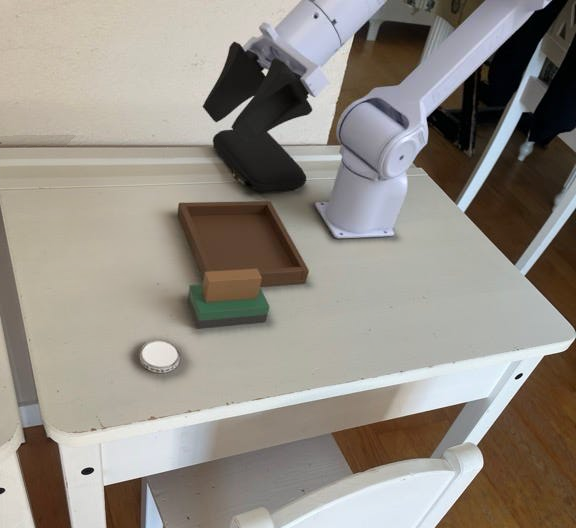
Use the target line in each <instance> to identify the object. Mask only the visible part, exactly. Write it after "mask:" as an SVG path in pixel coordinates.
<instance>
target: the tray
mask: <svg viewBox="0 0 576 528" xmlns="http://www.w3.org/2000/svg"><path fill="white" fill-rule="evenodd" d="M177 219H178V221H179V224H180V226H181V229H182V232H183V234H184V237H185V239H186V241H187V244H188V246H189V249H190V252H191V255H192V256H193V259H194V262H195V264H196V266H197V269H198V272H199V274H200V276H201V279H202V281H204V274H205V272H210V271H226V270H243V269H258V271H259V273H260V275H261V277H262V279H261V284H260V288H263V287H264V288H265V287H275V286H276V287H277V286H289V285H290V286H291V285H302V284H303V285H304V284H306V282H307V278H308V276H309V272H310V270H309V268H308V266H307V264H306V262H305V261H304V259H303V257H302V255H301V254H300V252H299V250H298V248H297V246H296V244H295V243H294V241H293V239H292V237H291V236H290V234H289V232H288V230H287V228H286V227H285V225H284V222H283V221H282V220H281V218H280V216H279V213H277V211H276V209H275V206H274V205H273V203H272V202H271V200H258V201H257V200H255V201H254V200H252V201H250V200H249V201H247V200H246V201H200V202H195V201H194V202H178V208H177Z"/></svg>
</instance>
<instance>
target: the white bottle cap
mask: <svg viewBox="0 0 576 528" xmlns="http://www.w3.org/2000/svg"><path fill="white" fill-rule="evenodd" d="M180 357H181V353H180V351H179V349H178V347H177V346H175V344H174V343H172V342H169V341H167V340H161V339H157V340H156V339H155V340H151V341H148V342H146V343H145V344H144V345H142V347H141V348H140V350H139V362H140V364H141V365H142V366H143V367H144V368H145V369H147V370H148V371H150V372H152V373H157V374H162V373H163V374H164V373H169V372H171V371H173V370H175V369H176V368H177V367H178V366H179V363H180V359H181V358H180Z"/></svg>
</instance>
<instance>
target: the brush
mask: <svg viewBox="0 0 576 528" xmlns="http://www.w3.org/2000/svg"><path fill="white" fill-rule="evenodd" d="M261 279H262V277H261V275H260V273H259V271H258V269H243V270H226V271H210V272H205V274H204V281H203V280H202V281H203V282H202V283H201V284H200V283H199V284H189V285H188V294H187V304H188V306H189V309H190V312H191V314H192V317H193V320H194V322H195V325H196V329H198V330H199V329H209V328H219V327H228V326H239V325H248V324H258V323H259V324H260V323H261V324H262V323H266V322H267V319H268V314H269V311H270V304H269V303H268V300H267V299H266V296H265V294H264V292H263V290H262V287H260V284H261Z"/></svg>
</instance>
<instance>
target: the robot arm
mask: <svg viewBox="0 0 576 528" xmlns="http://www.w3.org/2000/svg"><path fill="white" fill-rule="evenodd" d="M552 1H553V0H484V1H483V2H482V3H481V4H480V5H479V6H478V7H477V8H476V9H475V10H474V11H473V12H472V13H471V14H470V15H469V16H468V17H466V19H465V20H464V21H463V22H462V23H460V25H458V26H457V27H456V28H455V30H453V32H451V33H450V34H449V35H448V36H447V37H446V38H445V40H443V41H442V42H441V43H440V44H439V45H438V46H437V47H436V48H435V49H434V50H433V51H432V52H431V53H430V54H429V55H428V56H427V57H425V58H424V60H423V61H422V62H420V64H419V65H418V66H416V68H414V70H412V71H411V72H410V73H409V75H407V76H406V77H405V79H403V80H402V81H401V82H400V83H399V84H398V85H390V86H389V85H388V86H379V87H373V88H372V89H371V90H370V91H369V92H368V93H367V94H366V95H365V96H363V97H361V98H359V99H357V100H354V101H353V102H351V103H350V104H349V105H348V106H347V107H346V108H345V109H344V110H343V112H342V113H341V115H340V116H339V119H338V121H337V124H336V129H335V135H336V139H337V141H338V142H339V144H340V147H339V150H338V153H339V154H340V155H341V158H340V163H339V165H338V169H337V172H336V175H335V178H334V181H333V182H334V183H333V186H332V190H331V193H330V195H329V199H328V201H317V202H315V205H314V207H315V208H316V210H317V212H318V214H319V215H320V216H321V218H322V220H323V222H324V223H325V224H326V226H327V228H328V229H329V231H330V232H331V234H332V235H333V237H334V238H335V239H356V238H357V239H358V238H377V237H380V238H381V237H382V238H383V237H393V236H394V235H395V231H394V230H393V228H394V226H395V223H396V220H397V218H398V216H399V213H400V211H401V208H402V206H403V203H404V201H405V198H406V195H407V191H408V186H409V185H408V182H409V181H408V174H407V170H408V169H410V167H411V166H412V164H413V162H414V161H415V159H416V157H417V155H418V154H419V153H420V152H421V151H422V150H423V148H425V146H426V145H427V144H428V139H429V127H428V121H427V119H428V117H429V116H430V115H431V114H432V113H433V112H434V111H435V110H436V109H437V108H438V107H440V106H441V104H443V102H444V101H445V100H446V99H448V97H450V96H451V95H452V94H453V93H454V92H455V91H456V90H457V89H458V88H459V87H461V85H462V84H463V83H464V82H465V81H466V80H468V78H469V77H470V76H471V75H473V73H474V72H475V71H476V70H477V69H478V68H479V67H481V66H482V65H483V64H484V62H486V61H487V60H488V59H489V58H490V57H491V56H492V55H493V54H494V53H495V52H497V50H498V49H499V48H500V47H501V46H502V45H503V44H504V43H505V42H506V41H508V39H510V38H511V37H512V35H514V34H515V32H516V31H518V30H519V29H520V28H521V27H522V26H523V25H524V24H525V23H526V22H527V21H528V20H529V18H530V17H531V16H532V15H533V14H534V13H535V11H539V10H542V9H544V8H546V6H548V5H549V4H550V3H551V2H552ZM387 2H388V0H300V1H299V2H298V3H297V4H296V5H295V6H294V7H293V8H292V10H290V11H289V12H288V13H287V15H286V16H285V17H283V18H282V19H281V21H280V22H279V23H278V24H277V25H276V26H275V27H273V26H272V25H271V24H270V23H267V22H265V21H264V22H262V23H260V25H259V26H258V29H259V31H260V33H261V35H260V36H258V37H256V36H251V37H250V39H248V41H247V42H245V44H244V45H243V46H242V44H241V43H239V42H236V41H232V43H230V46H229V48H228V52H227V56H226V60H225V63H224V65H223V67H222V70H221V72H220V74H219V76H218V78H217V80H216V82H215V83H214V85H213V87H212V88H211V91H210V92H209V94H208V96H206V99H205V101H204V102H203V104H202V108H203V109H204V111H205V112H206V113H207V115H209V117H210V118H211V120H212V121H213V122H214V123H218V122H220V121H222V120H223V119H225V118H226V117H227V116H228V115H230V114H231V113H232V112H233V111H235V110H236V109H237V108H238V107H240V106H241V105H242V104H243V103H245V102H247V101H248V100H250V101H249V102H248V103H247V104H246V105H245V106H244V108H243V109H242V110H241V112H240V113H239V114H238V115H237V117H236V118H235V120H234V121H233V123H232V124H231V126H230V128H231V130H234V131H235V133H236V134H237V135H238V137H239V138H240V139H241V140H242V142H243V143H245V144H247V143H249V142H251V141H253V140H254V139H256V138H258V137H259V136H261V135H262V134H264V133H266V132H269V131H271V130H272V129H274V128H276V127H278V126H280V125H282V124H284V123H286V122H288V121H292V120H294V119H297V118H301V117H305V116H309V115H310V114H311V113H313V107H312V106H311V104H310V102H309V100H308V98H309V96H311V97H312V98H317V97H318V96H319V94H321V92H323V91H324V89H326V87H327V86H328V85H329V84H330V81H329V79H328V77H327V76H326V74H325V72H324V70H323V66H325V65H326V64H327V62H328V61H329V60H331V58H333V56H334V55H335V54H337V52H339V51H340V49H341V48H342V47H344V45H345V44H347V42H348V41H349V40H351V38H352V37H353V36H354V35H356V33H357V32H358V31H360V29H361V28H362V27H363V26H364V25H365V24H366V23H367V22H368V21H369V20H370V19H371V18H372V17H373V16H374V15H375V13H377V12H378V11H379V10H380V9H381V8H382V7H383V6H384V5H385V3H387ZM264 70H267V73H266V75H265V73H264Z"/></svg>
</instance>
